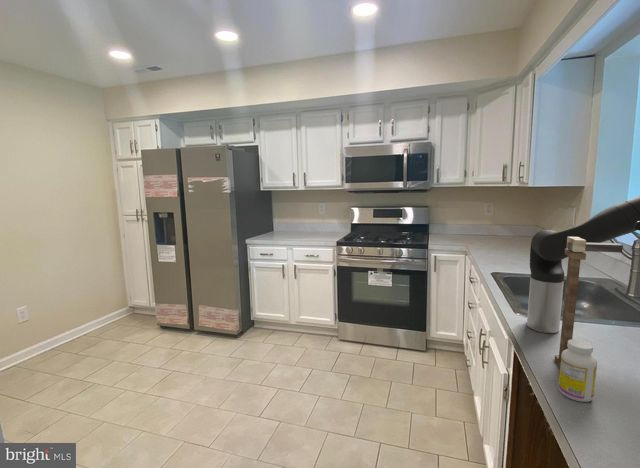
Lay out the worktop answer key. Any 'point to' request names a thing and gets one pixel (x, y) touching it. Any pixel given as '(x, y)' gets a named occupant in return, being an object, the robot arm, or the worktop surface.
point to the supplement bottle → (578, 371)
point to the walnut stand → (569, 299)
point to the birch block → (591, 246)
